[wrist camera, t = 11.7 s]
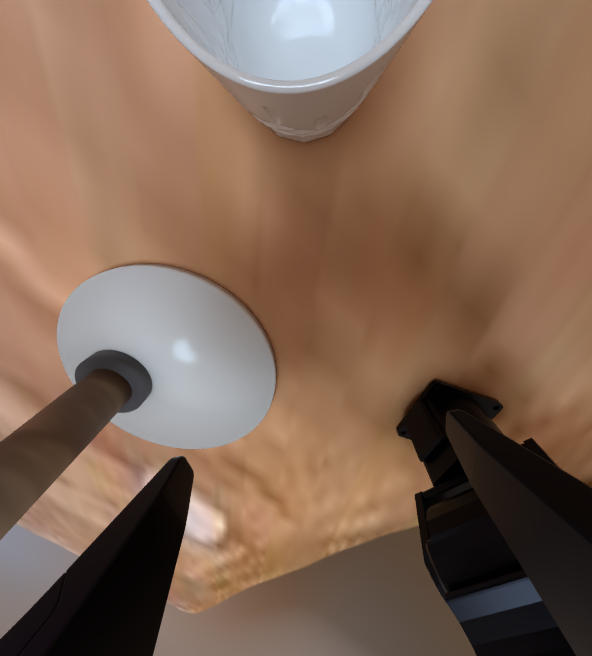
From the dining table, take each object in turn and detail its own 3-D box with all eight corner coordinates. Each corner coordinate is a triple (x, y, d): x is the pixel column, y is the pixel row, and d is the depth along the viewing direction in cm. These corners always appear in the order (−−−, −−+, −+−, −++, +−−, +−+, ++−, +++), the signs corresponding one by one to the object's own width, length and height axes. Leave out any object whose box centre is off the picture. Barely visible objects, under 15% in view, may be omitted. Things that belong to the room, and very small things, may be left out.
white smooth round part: (306, 312, 20) (306, 317, 19) (247, 459, 28) (244, 468, 27) (61, 225, 18) (48, 227, 17) (71, 409, 26) (63, 417, 25)
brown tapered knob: (155, 362, 21) (-33, 557, 10) (149, 410, 24) (-8, 612, 12) (85, 340, 21) (-202, 519, 9) (86, 391, 23) (-141, 584, 12)
